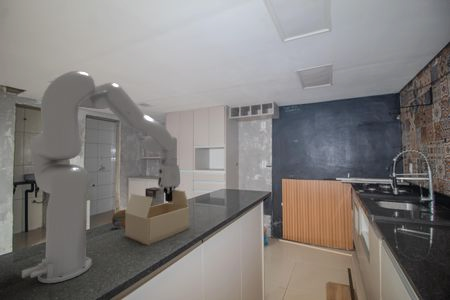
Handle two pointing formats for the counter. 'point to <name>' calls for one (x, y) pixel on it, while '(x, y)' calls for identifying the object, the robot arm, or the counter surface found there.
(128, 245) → the counter surface
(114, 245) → the counter surface
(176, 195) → the far flap
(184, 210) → the carton
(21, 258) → the counter surface
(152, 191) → the coffee box
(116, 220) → the tin
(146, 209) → the near flap
